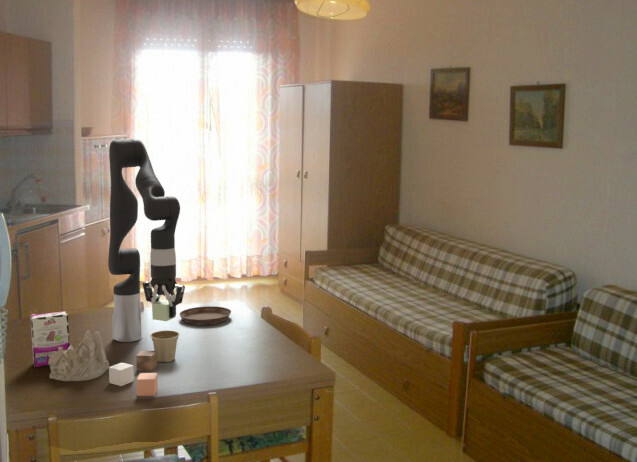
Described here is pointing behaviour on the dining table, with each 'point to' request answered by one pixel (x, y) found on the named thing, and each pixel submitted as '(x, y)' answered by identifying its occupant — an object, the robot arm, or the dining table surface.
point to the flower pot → (165, 344)
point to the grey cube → (121, 374)
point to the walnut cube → (146, 360)
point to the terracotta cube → (147, 384)
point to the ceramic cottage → (80, 360)
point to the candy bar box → (48, 336)
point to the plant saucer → (205, 315)
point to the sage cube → (161, 310)
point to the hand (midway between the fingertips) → (164, 316)
